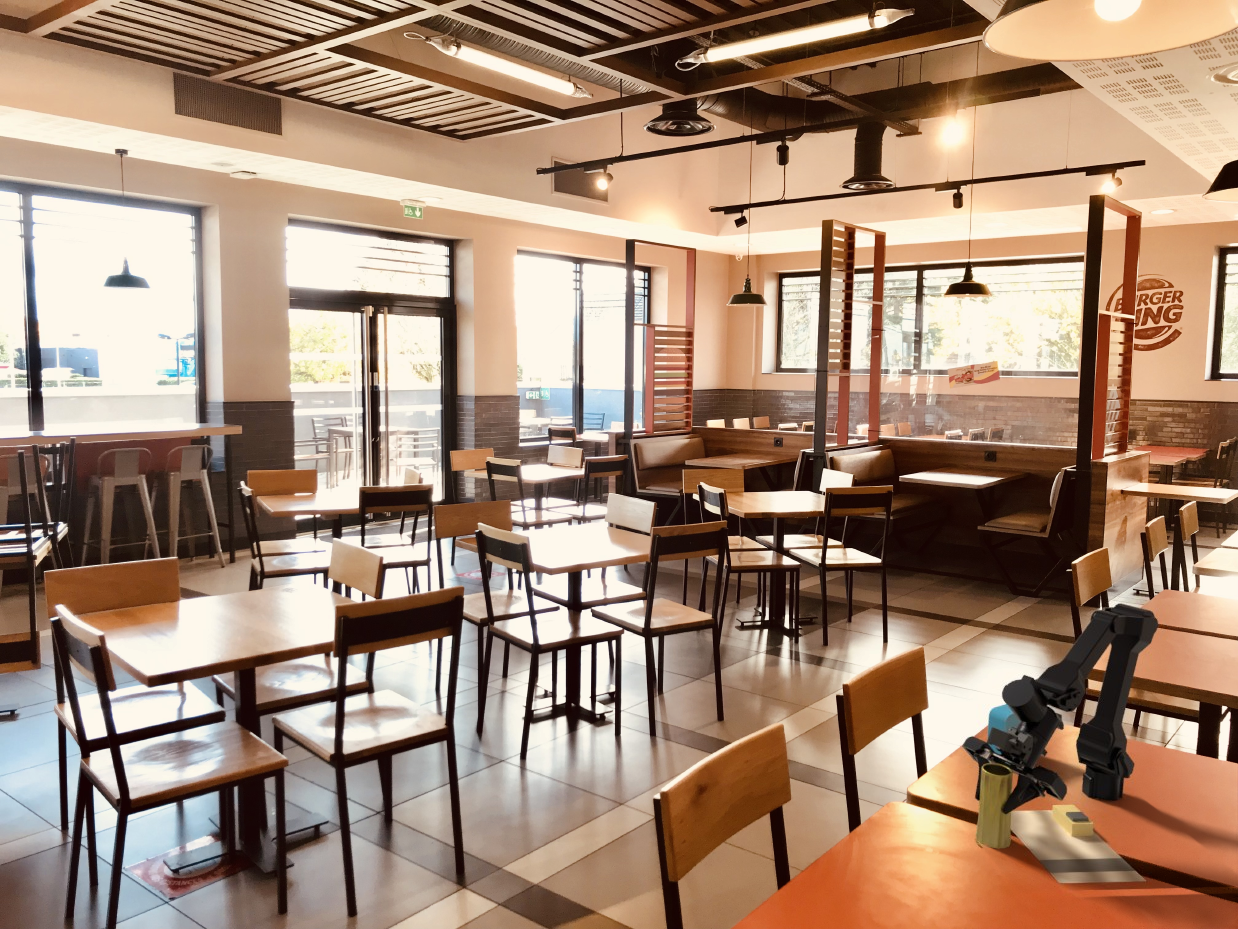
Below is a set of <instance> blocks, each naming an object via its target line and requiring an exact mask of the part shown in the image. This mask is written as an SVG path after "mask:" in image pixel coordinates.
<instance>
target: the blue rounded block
mask: <svg viewBox="0 0 1238 929" xmlns="http://www.w3.org/2000/svg"><path fill="white" fill-rule="evenodd" d="M1019 723H1020V720H1019V719H1018V718H1017V717H1016V716H1015V714H1014V713H1013V712H1012V711H1011V709H1010V708H1009V707H1008V705H1007V704H1006V703H1004V704H1001V705H999V706H998V705H997V706H995V707H993V708H991V709H990V711H989V713H988V723H987V726H988V727H987V740H988V737H989V734H990V731H991V728H992V727H995V728H997V729H1000V730H1003V731H1005V732H1008V731H1009V729H1010V728H1011V727H1014V728H1017V726H1018V724H1019ZM987 740H986V741H987ZM989 745H990V744H989ZM990 747H991V748H992V749H993V750H994V751H995V752H996V753H998V754H1001V752H1000V751H998V750H997V749H996V748H995V747H996V746H995V745H990ZM1005 763H1007V762H1005ZM1007 764H1008V763H1007ZM1009 765H1010V764H1009Z"/></svg>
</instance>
